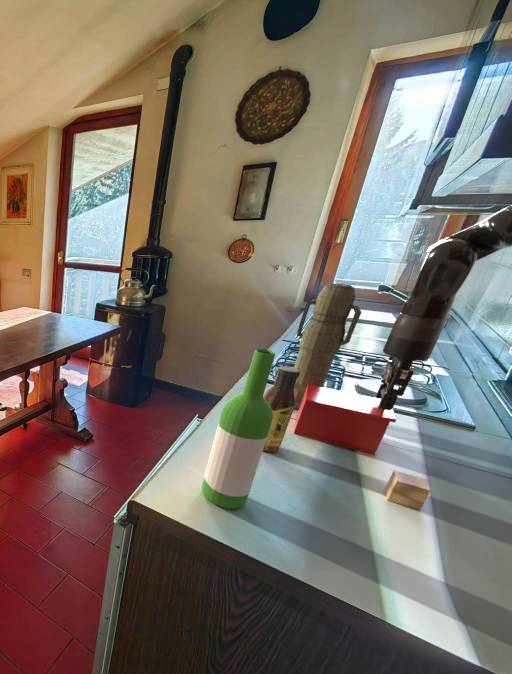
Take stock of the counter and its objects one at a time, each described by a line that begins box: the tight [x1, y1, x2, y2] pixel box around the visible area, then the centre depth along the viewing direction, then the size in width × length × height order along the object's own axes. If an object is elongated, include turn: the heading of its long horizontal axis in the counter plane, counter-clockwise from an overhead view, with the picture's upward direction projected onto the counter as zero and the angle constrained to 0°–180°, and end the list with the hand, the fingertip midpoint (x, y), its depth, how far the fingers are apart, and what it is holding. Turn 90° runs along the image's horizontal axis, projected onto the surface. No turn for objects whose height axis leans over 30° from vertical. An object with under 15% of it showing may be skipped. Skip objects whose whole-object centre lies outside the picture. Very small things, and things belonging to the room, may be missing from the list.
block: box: [384, 469, 431, 511], centre depth 75 cm, size 5×5×5 cm
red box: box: [293, 388, 391, 456], centre depth 98 cm, size 16×13×9 cm
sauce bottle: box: [263, 365, 300, 453], centre depth 90 cm, size 7×6×20 cm
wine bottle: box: [201, 348, 276, 510], centre depth 70 cm, size 8×8×30 cm
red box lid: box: [305, 384, 397, 424], centre depth 95 cm, size 16×13×5 cm
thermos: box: [293, 283, 362, 411], centre depth 108 cm, size 9×12×35 cm
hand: (383, 403), depth 92 cm, fingers open, 6 cm apart
